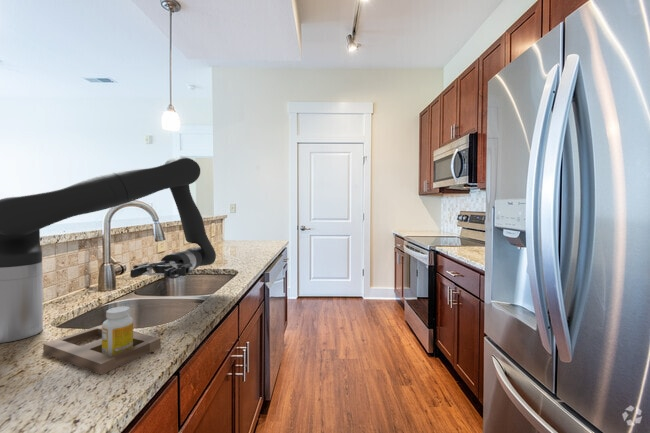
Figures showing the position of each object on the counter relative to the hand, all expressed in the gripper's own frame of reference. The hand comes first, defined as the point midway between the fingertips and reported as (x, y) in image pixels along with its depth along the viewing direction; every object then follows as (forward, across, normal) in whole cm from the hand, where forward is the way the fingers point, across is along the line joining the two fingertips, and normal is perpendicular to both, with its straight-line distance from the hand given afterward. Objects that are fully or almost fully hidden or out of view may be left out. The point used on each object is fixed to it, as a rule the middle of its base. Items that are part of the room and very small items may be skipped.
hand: (149, 274), depth 76 cm
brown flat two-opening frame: (+12, -3, +14) cm, 19 cm away
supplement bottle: (+14, +2, +14) cm, 20 cm away
